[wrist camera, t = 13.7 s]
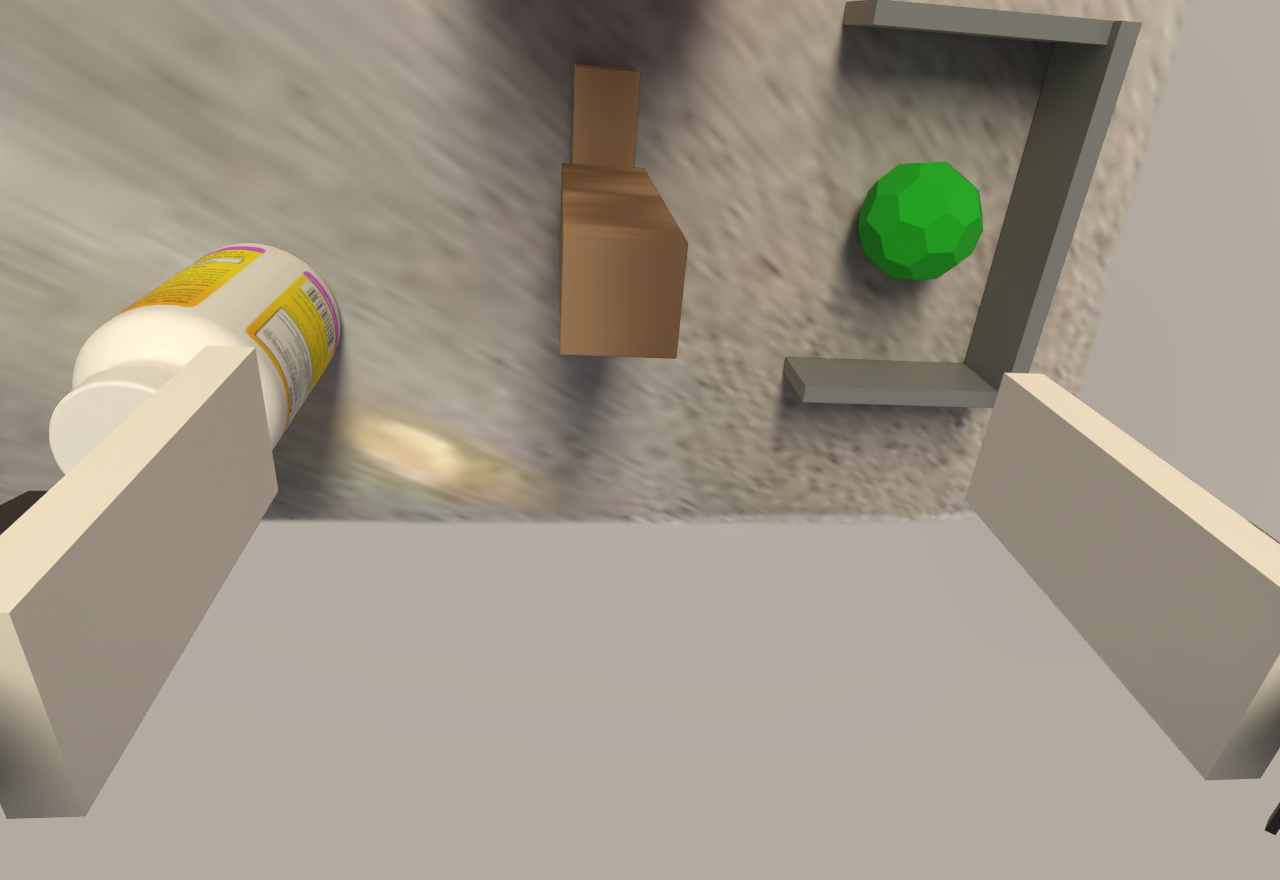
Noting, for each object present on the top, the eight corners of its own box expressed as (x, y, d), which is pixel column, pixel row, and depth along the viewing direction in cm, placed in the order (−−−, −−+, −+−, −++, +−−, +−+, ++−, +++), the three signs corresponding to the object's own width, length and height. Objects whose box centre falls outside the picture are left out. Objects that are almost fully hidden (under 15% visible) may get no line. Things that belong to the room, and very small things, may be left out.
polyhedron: (822, 225, 36) (857, 251, 31) (895, 128, 34) (943, 143, 30) (900, 283, 37) (944, 316, 33) (974, 194, 36) (1030, 217, 31)
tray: (783, 372, 39) (805, 406, 35) (846, 2, 31) (882, -2, 28) (974, 378, 40) (1015, 413, 36) (1079, 22, 33) (1142, 22, 29)
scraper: (557, 303, 36) (557, 463, 23) (564, 63, 32) (567, 90, 18) (627, 306, 37) (665, 465, 23) (643, 69, 32) (702, 100, 19)
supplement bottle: (163, 331, 35) (-26, 477, 24) (225, 207, 33) (51, 303, 22) (304, 407, 37) (194, 573, 26) (372, 296, 35) (283, 425, 24)
